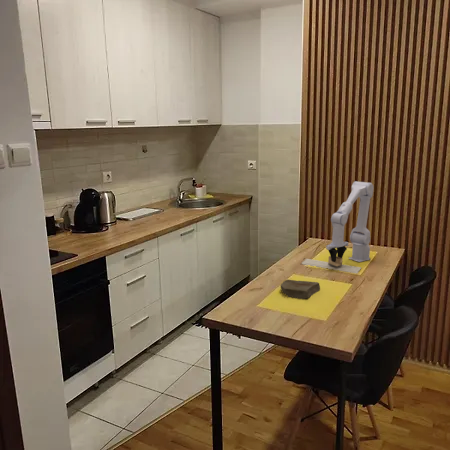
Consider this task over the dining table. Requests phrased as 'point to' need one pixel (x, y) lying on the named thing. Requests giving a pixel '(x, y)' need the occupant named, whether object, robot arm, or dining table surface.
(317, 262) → the baseboard
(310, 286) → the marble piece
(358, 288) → the dining table surface
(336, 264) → the block
